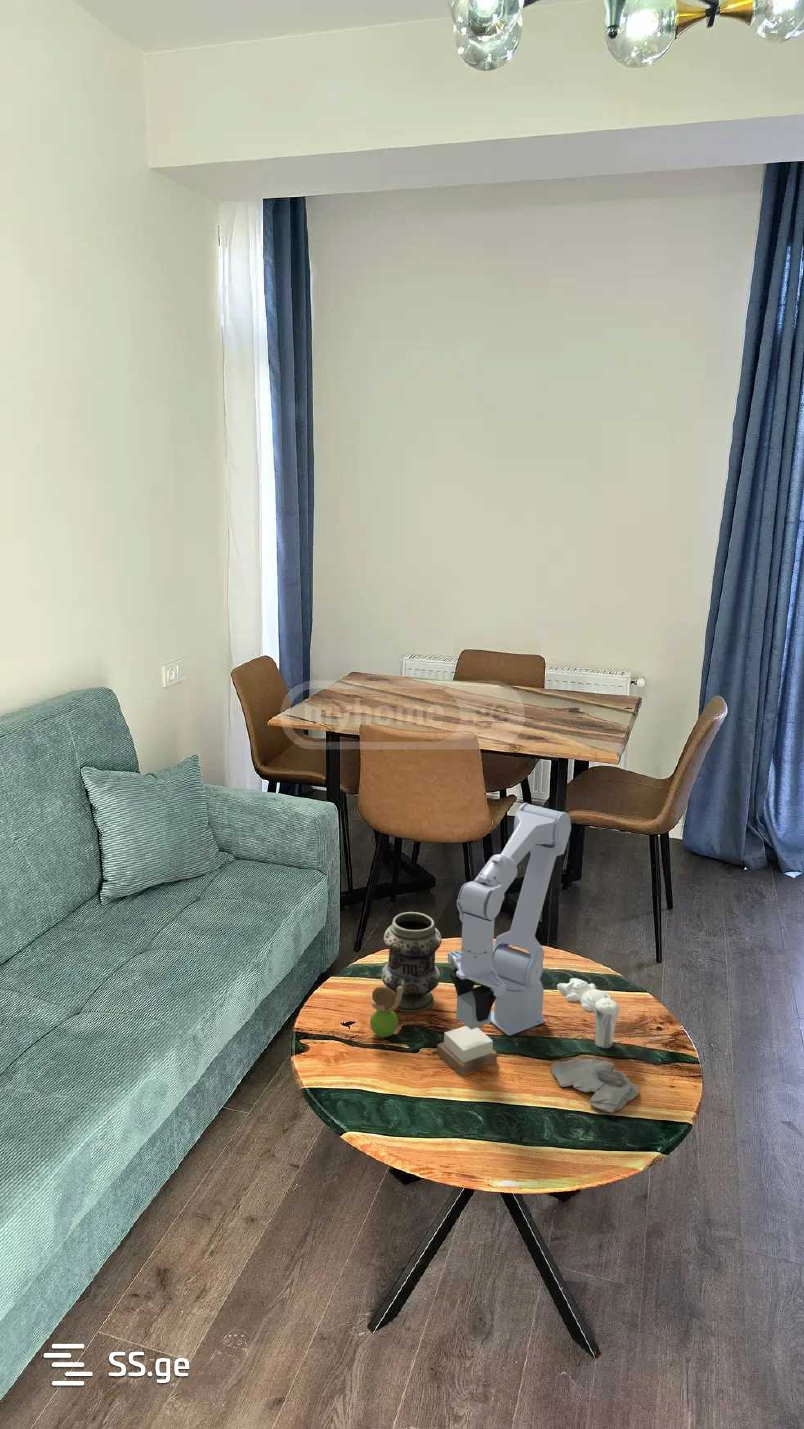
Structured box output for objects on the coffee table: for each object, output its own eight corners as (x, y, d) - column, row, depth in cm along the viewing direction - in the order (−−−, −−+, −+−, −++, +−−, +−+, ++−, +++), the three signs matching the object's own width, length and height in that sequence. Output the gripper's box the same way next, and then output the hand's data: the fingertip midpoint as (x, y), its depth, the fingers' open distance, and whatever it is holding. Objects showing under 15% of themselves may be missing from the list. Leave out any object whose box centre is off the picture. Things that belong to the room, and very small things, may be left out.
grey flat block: (470, 1043, 184) (470, 1032, 183) (496, 1064, 178) (497, 1053, 177) (436, 1056, 180) (437, 1044, 179) (462, 1078, 173) (463, 1066, 173)
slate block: (475, 1010, 179) (476, 989, 178) (490, 1022, 175) (491, 1000, 174) (456, 1018, 176) (457, 996, 175) (471, 1030, 173) (472, 1007, 171)
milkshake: (584, 1037, 186) (588, 991, 183) (611, 1036, 186) (615, 991, 184) (591, 1051, 182) (595, 1004, 179) (618, 1050, 182) (623, 1004, 179)
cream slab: (472, 1035, 182) (472, 1023, 182) (492, 1053, 177) (492, 1041, 176) (443, 1044, 179) (444, 1032, 178) (463, 1063, 174) (463, 1051, 173)
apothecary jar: (451, 999, 198) (454, 920, 193) (413, 1023, 189) (415, 941, 184) (407, 978, 205) (409, 902, 201) (368, 1000, 197) (370, 921, 192)
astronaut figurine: (580, 980, 207) (581, 967, 207) (620, 1006, 198) (621, 993, 197) (550, 991, 203) (551, 978, 202) (589, 1018, 193) (590, 1005, 192)
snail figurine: (399, 1045, 182) (401, 989, 179) (366, 1041, 183) (368, 985, 180) (405, 1029, 187) (407, 974, 184) (373, 1025, 188) (374, 970, 185)
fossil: (649, 1092, 169) (649, 1080, 169) (609, 1123, 163) (609, 1110, 162) (577, 1053, 182) (576, 1041, 181) (537, 1080, 175) (536, 1068, 175)
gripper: (435, 935, 175) (433, 1001, 179) (485, 970, 164) (481, 1039, 167) (465, 926, 179) (462, 990, 183) (516, 959, 168) (512, 1027, 171)
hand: (473, 1013), depth 175 cm, fingers closed on slate block, 4 cm apart
